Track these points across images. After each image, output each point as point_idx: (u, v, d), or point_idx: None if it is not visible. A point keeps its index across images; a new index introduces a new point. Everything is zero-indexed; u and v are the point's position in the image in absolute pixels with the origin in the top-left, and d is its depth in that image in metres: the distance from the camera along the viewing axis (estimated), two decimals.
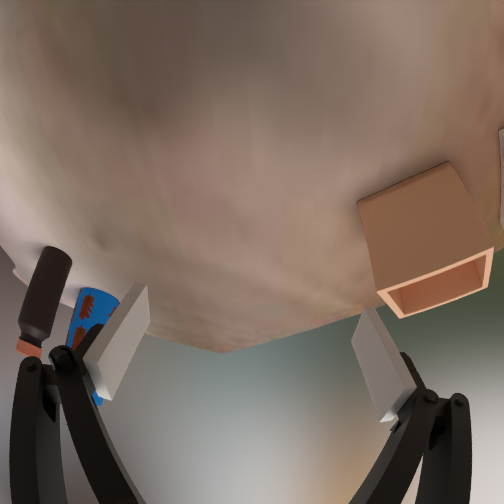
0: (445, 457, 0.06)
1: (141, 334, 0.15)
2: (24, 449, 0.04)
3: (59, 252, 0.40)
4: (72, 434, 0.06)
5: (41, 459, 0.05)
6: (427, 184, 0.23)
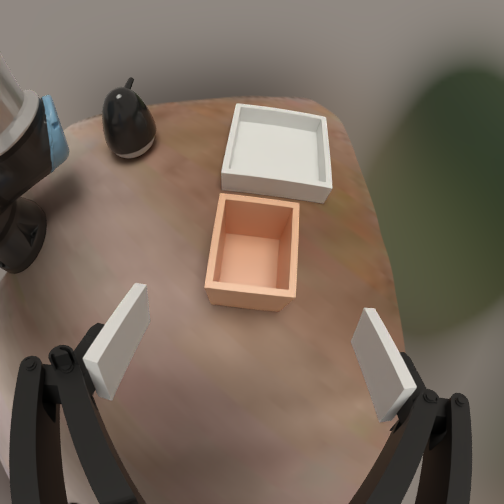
0: (445, 457, 0.06)
1: (141, 334, 0.15)
2: (24, 449, 0.04)
3: None
4: (72, 434, 0.06)
5: (41, 459, 0.05)
6: None
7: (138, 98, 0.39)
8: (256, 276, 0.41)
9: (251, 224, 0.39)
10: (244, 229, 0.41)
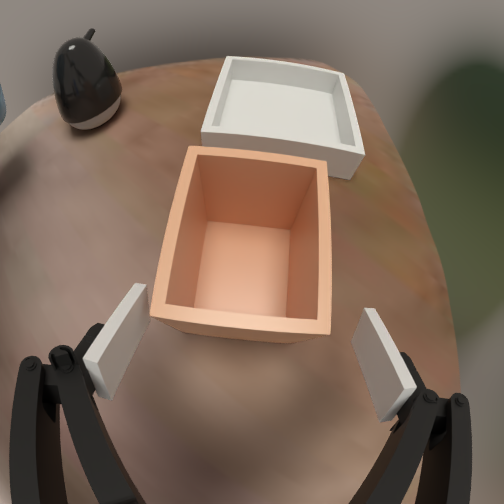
0: (445, 457, 0.06)
1: (141, 334, 0.15)
2: (24, 449, 0.04)
3: None
4: (72, 434, 0.06)
5: (41, 459, 0.05)
6: None
7: (96, 49, 0.23)
8: (254, 288, 0.26)
9: (245, 203, 0.24)
10: (235, 213, 0.26)
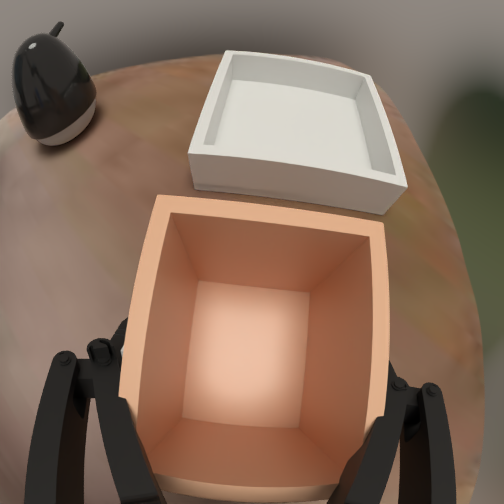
0: (423, 450, 0.07)
1: None
2: (47, 443, 0.05)
3: None
4: (102, 426, 0.07)
5: (64, 455, 0.05)
6: None
7: (62, 46, 0.16)
8: (262, 374, 0.18)
9: (251, 269, 0.17)
10: (235, 276, 0.18)
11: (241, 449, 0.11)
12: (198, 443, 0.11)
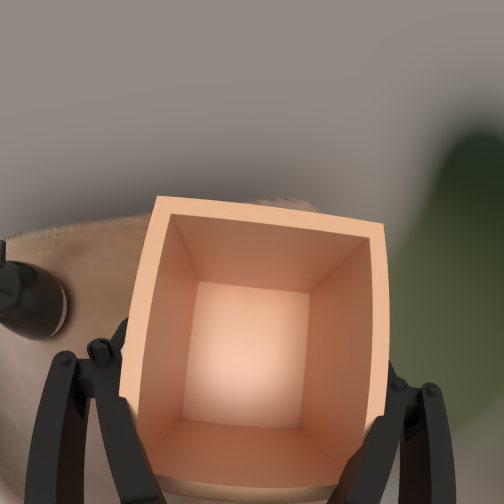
0: (423, 450, 0.07)
1: None
2: (47, 443, 0.05)
3: None
4: (102, 426, 0.07)
5: (64, 455, 0.05)
6: None
7: (15, 283, 0.21)
8: (262, 374, 0.18)
9: (251, 270, 0.17)
10: (235, 277, 0.18)
11: (241, 450, 0.11)
12: (198, 444, 0.11)
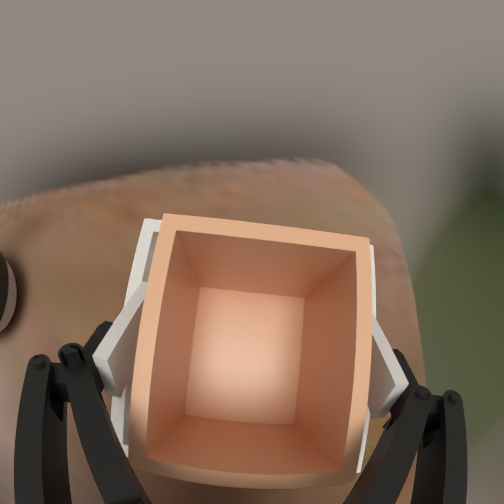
0: (440, 455, 0.06)
1: None
2: (30, 447, 0.05)
3: None
4: (79, 432, 0.06)
5: (47, 458, 0.05)
6: None
7: None
8: (259, 374, 0.19)
9: (249, 277, 0.18)
10: (235, 283, 0.20)
11: (239, 443, 0.13)
12: (200, 437, 0.13)
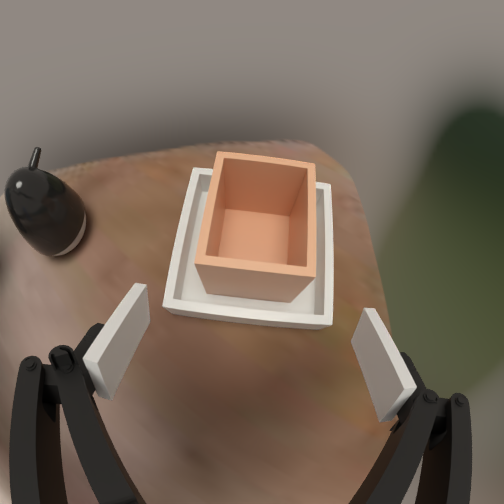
0: (445, 457, 0.06)
1: (141, 334, 0.15)
2: (24, 449, 0.04)
3: None
4: (72, 434, 0.06)
5: (41, 459, 0.05)
6: None
7: (44, 183, 0.24)
8: (262, 259, 0.34)
9: (256, 194, 0.32)
10: (247, 202, 0.34)
11: None
12: None
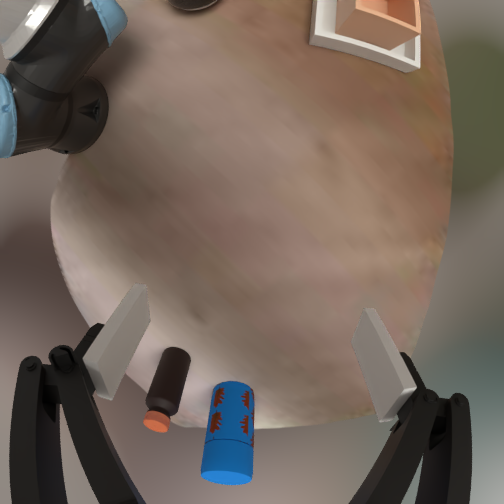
0: (445, 457, 0.06)
1: (141, 334, 0.15)
2: (24, 449, 0.04)
3: (175, 348, 0.58)
4: (72, 434, 0.06)
5: (41, 459, 0.05)
6: None
7: None
8: None
9: None
10: None
11: None
12: None
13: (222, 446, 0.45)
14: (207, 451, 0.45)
